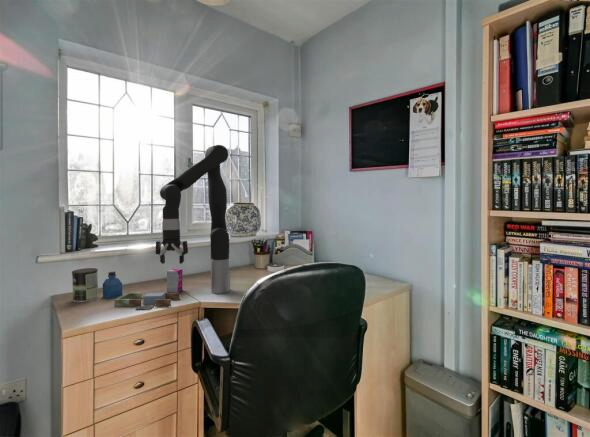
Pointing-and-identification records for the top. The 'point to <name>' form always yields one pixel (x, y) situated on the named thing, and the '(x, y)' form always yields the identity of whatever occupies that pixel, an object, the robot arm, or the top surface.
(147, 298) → the slate block
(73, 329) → the top surface
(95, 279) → the coffee can
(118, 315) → the top surface
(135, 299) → the channel
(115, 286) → the perfume bottle
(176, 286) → the supplement box
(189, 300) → the top surface
